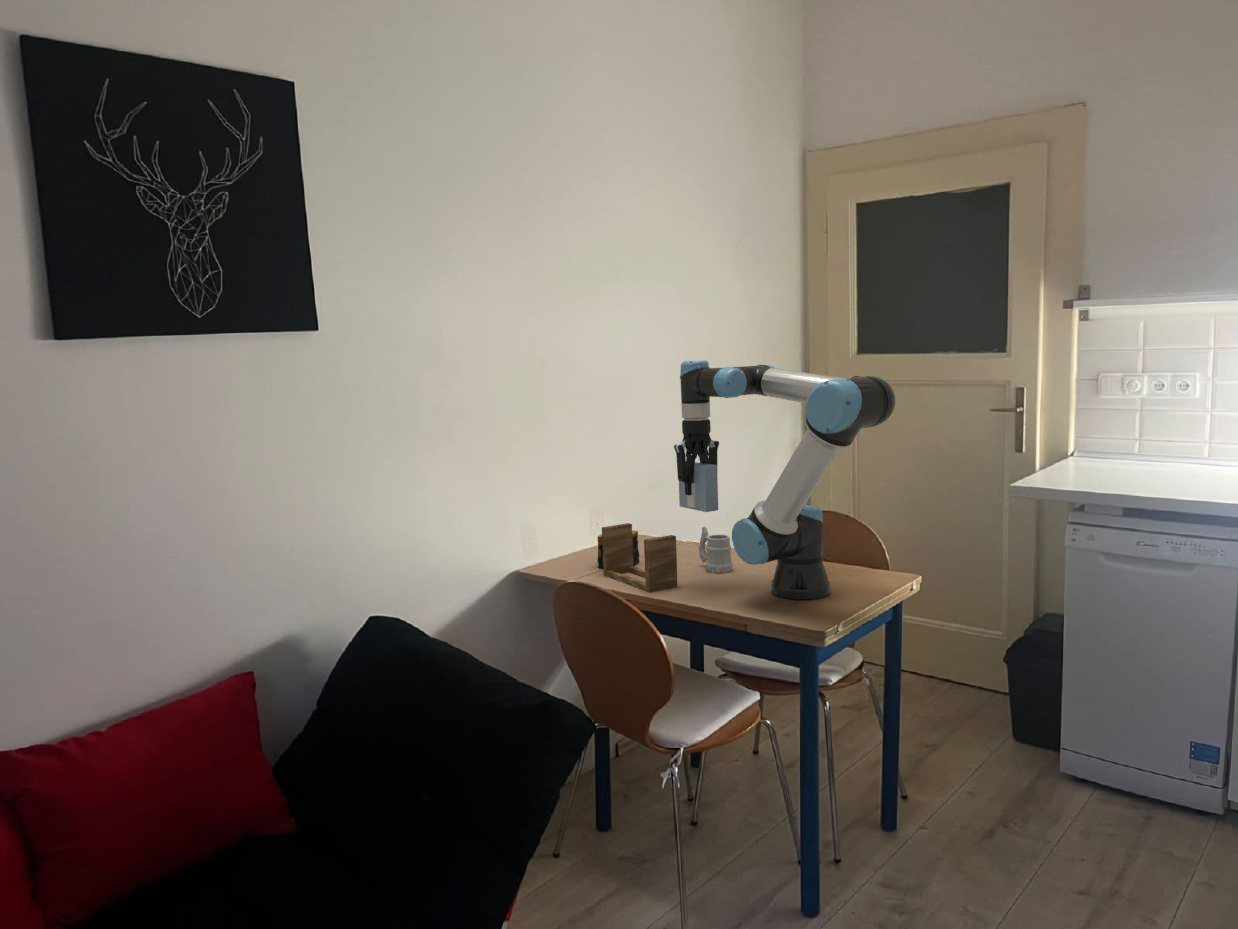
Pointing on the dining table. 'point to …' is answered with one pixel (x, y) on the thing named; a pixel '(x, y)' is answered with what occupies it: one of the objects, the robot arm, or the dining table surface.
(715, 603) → the dining table surface
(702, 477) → the pale blue book
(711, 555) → the mug
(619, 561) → the rack
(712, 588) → the dining table surface
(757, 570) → the dining table surface
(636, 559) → the dark brown pieces
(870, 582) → the dining table surface
